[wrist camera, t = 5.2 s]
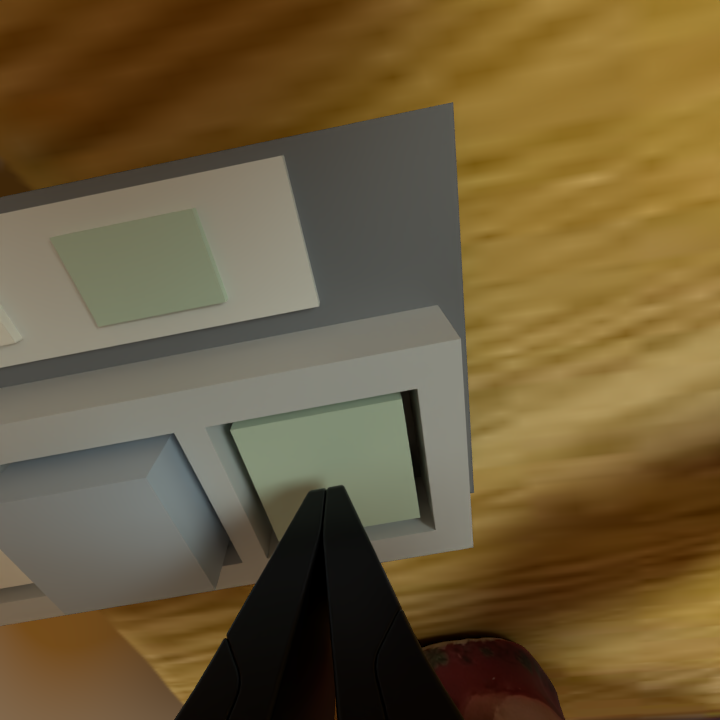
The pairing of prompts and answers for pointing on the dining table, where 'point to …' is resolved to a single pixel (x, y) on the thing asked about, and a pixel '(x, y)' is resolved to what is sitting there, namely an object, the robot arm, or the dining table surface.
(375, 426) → the sage key
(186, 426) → the keypad
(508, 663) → the decorative planter
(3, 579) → the ivory key
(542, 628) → the dining table surface
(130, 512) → the slate key
